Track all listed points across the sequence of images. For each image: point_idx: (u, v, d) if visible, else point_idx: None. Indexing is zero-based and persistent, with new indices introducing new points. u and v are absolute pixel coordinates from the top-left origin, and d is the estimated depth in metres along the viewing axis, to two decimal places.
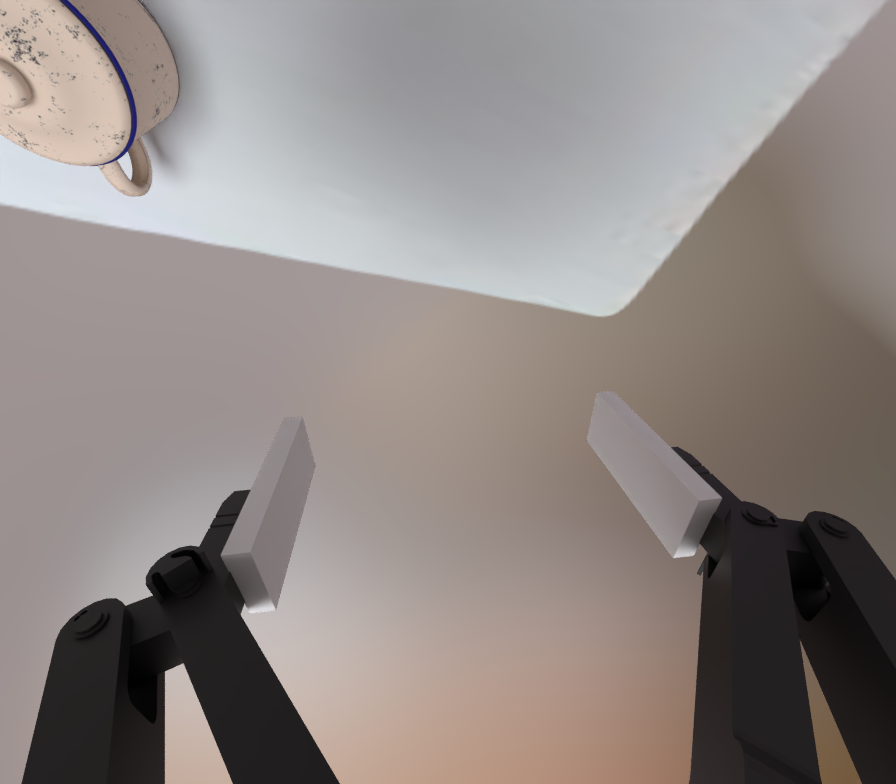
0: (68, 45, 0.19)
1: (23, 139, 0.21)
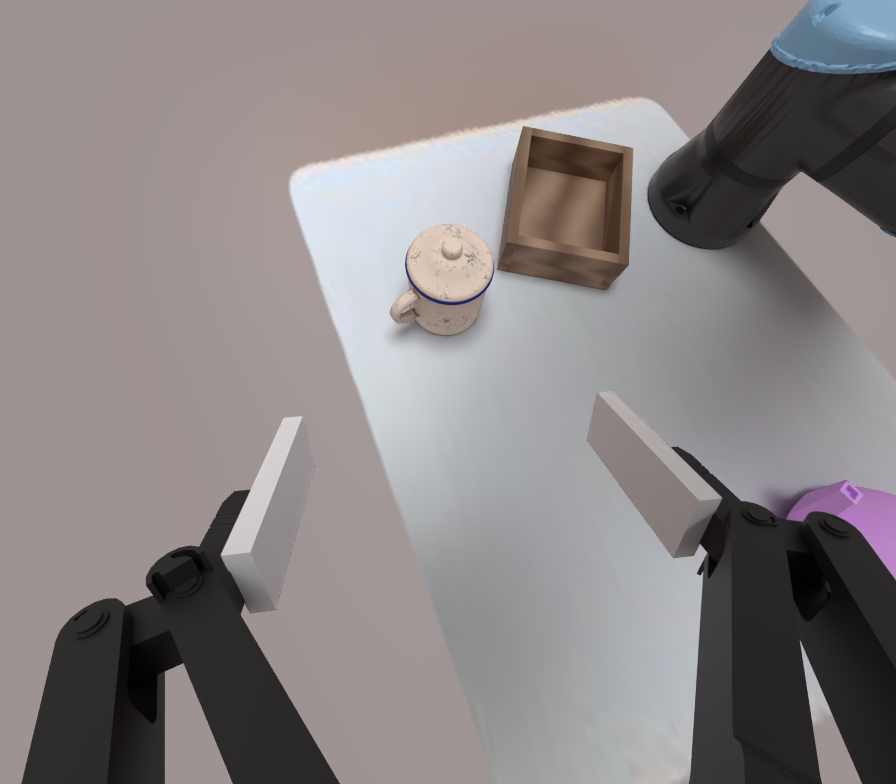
0: (478, 275, 0.37)
1: (415, 257, 0.37)
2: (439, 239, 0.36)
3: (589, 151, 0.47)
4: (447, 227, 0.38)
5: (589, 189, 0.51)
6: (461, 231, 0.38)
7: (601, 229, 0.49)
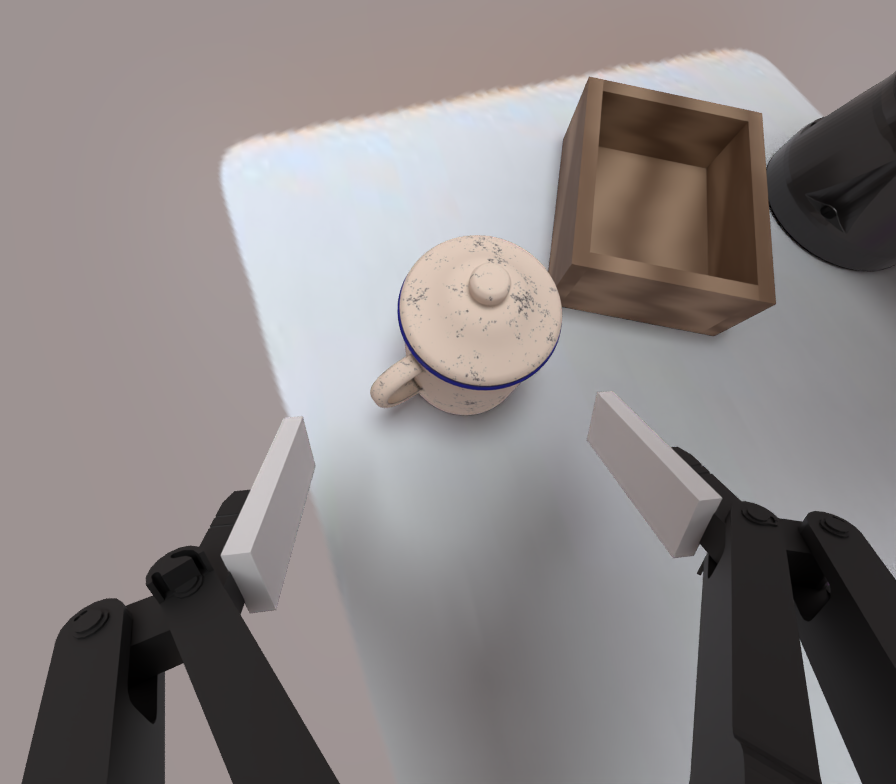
0: (537, 334, 0.19)
1: (416, 298, 0.19)
2: (463, 265, 0.19)
3: (691, 117, 0.30)
4: (476, 241, 0.20)
5: (681, 179, 0.33)
6: (502, 249, 0.20)
7: (704, 241, 0.32)
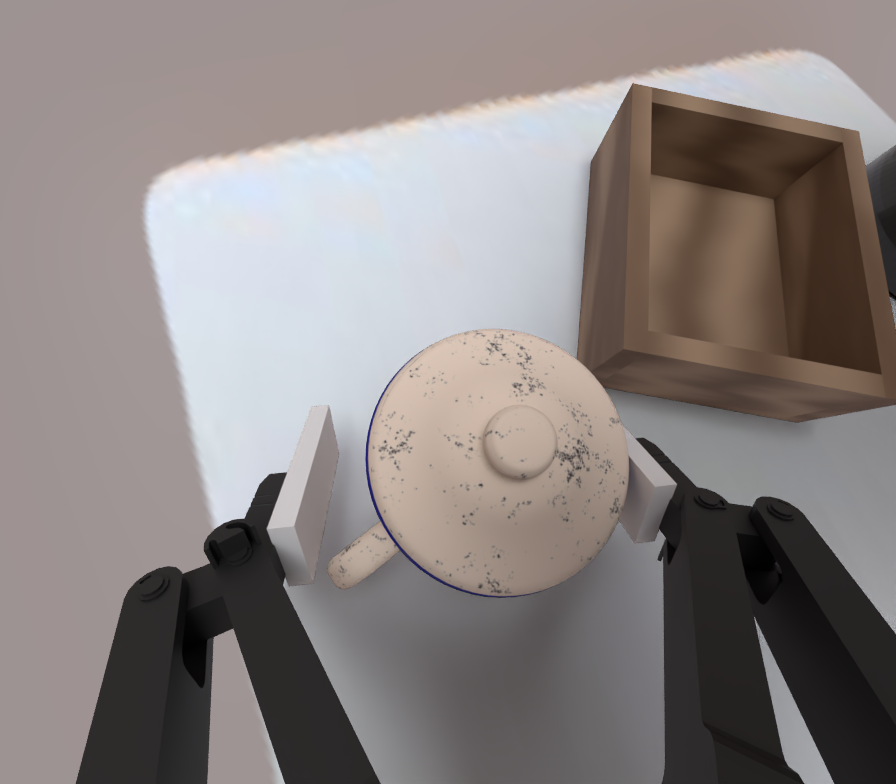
0: (593, 502, 0.12)
1: (394, 448, 0.12)
2: (472, 397, 0.11)
3: (766, 137, 0.23)
4: (491, 343, 0.13)
5: (744, 213, 0.26)
6: (533, 356, 0.13)
7: (779, 295, 0.25)
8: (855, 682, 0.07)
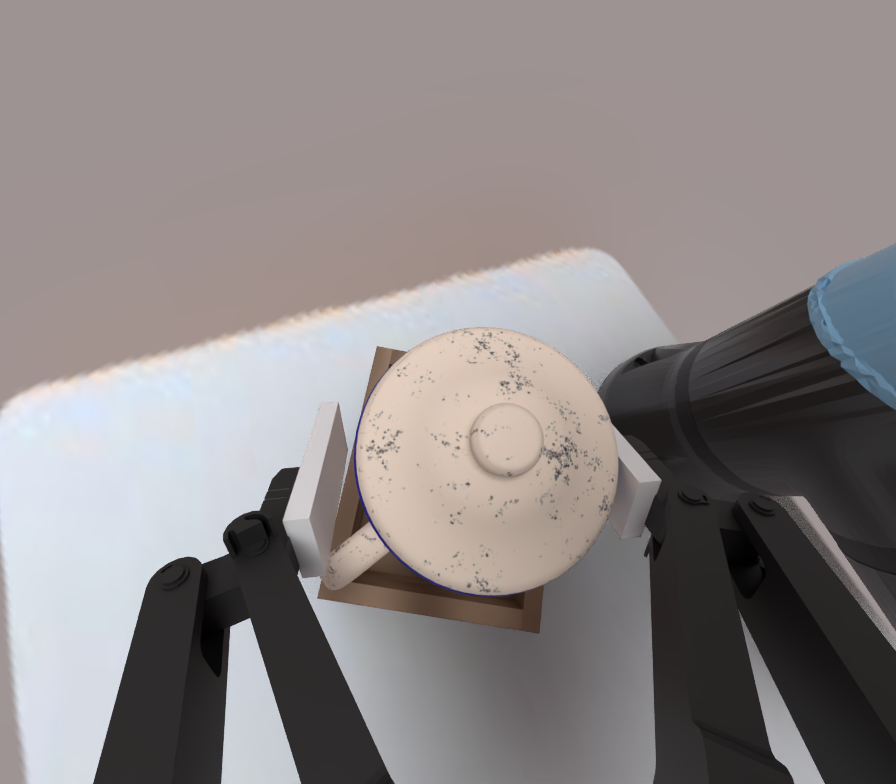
0: (582, 500, 0.12)
1: (382, 447, 0.11)
2: (459, 395, 0.11)
3: None
4: (479, 341, 0.13)
5: None
6: (521, 354, 0.13)
7: None
8: (839, 675, 0.08)
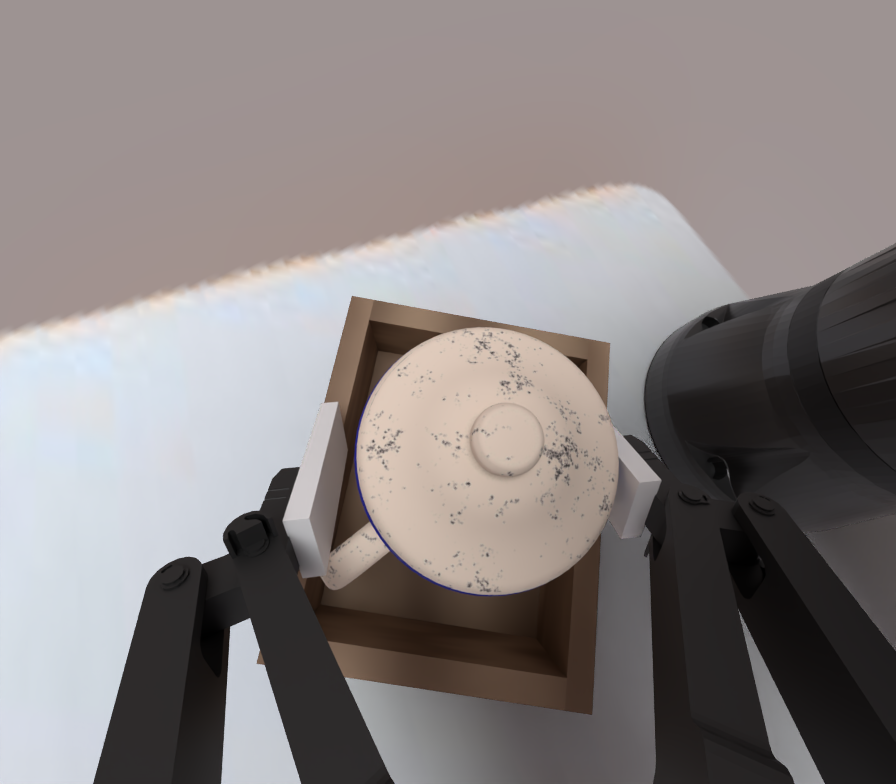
0: (583, 500, 0.12)
1: (382, 447, 0.11)
2: (459, 395, 0.11)
3: None
4: (479, 341, 0.13)
5: None
6: (521, 353, 0.13)
7: None
8: (839, 675, 0.08)
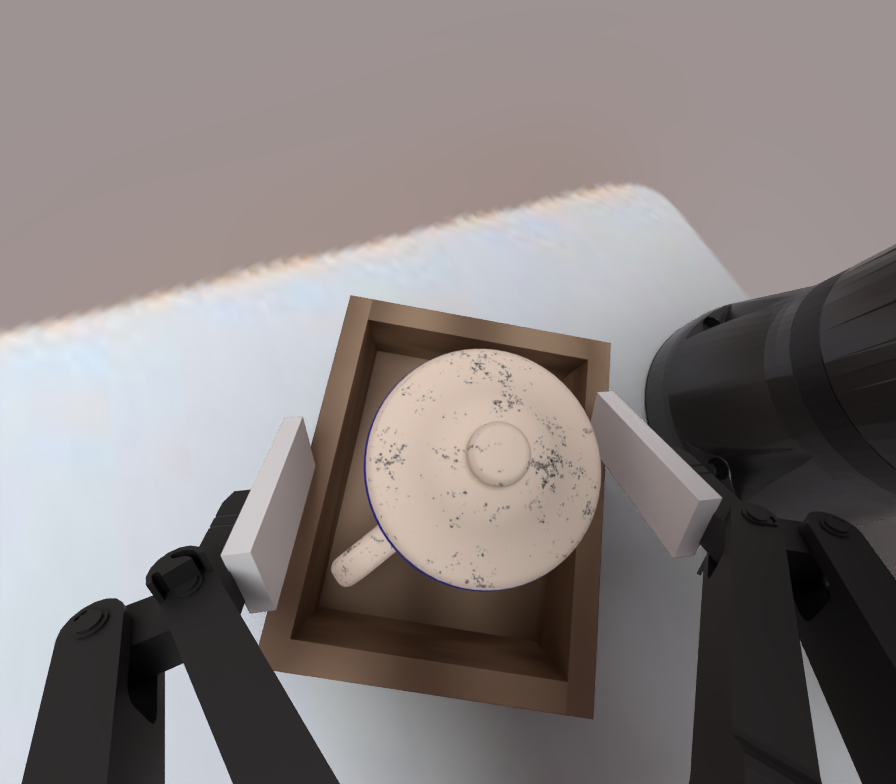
0: (568, 505, 0.13)
1: (389, 460, 0.13)
2: (457, 413, 0.13)
3: (508, 349, 0.20)
4: (475, 362, 0.14)
5: None
6: (513, 373, 0.14)
7: None
8: None
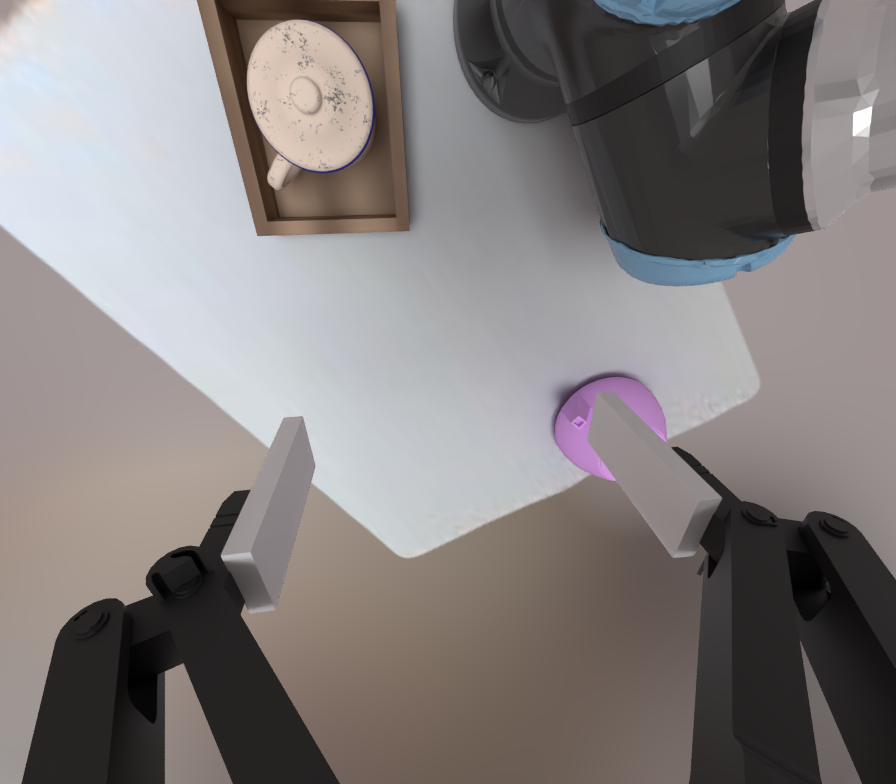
0: (355, 119, 0.28)
1: (262, 111, 0.27)
2: (282, 75, 0.25)
3: (323, 3, 0.28)
4: (284, 34, 0.25)
5: (356, 50, 0.33)
6: (307, 39, 0.25)
7: (386, 134, 0.36)
8: None
